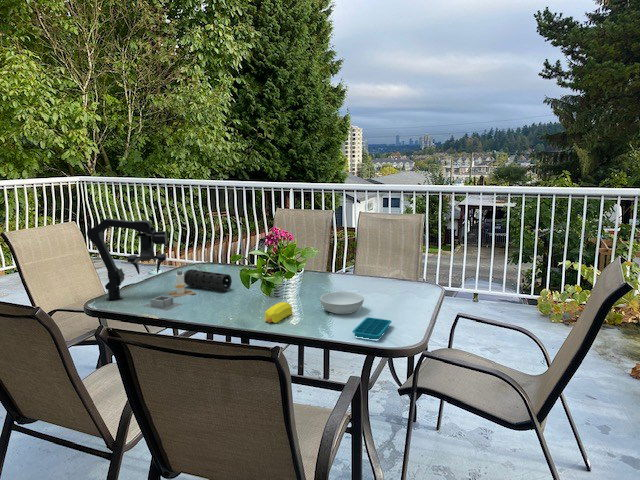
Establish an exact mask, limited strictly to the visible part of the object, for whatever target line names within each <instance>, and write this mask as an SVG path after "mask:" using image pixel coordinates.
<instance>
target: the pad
mask: <svg viewBox="0 0 640 480" xmlns="http://www.w3.org/2000/svg"><path fill="white" fill-rule="evenodd" d="M165 293H166V294H168V295H169V296H170V297H173V298H178V297H184V296H196V295H197V293H196V292H194V291H193V290H191V289H188V288H185V293H184V294H177V291H176V290H172V291H167V292H165Z"/></svg>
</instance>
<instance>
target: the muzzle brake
mask: <svg viewBox="0 0 640 480" xmlns="http://www.w3.org/2000/svg"><path fill="white" fill-rule="evenodd" d="M183 274H184V283H185V285H186V286H188V287H195V288H196V289H202V288H203V289H208V290H212V291H217V292H218V291H219V292H223V293H224V292H225V293H226V292H228V291H229V289H230V288H231V286H232V276H231V275H230V274H229V273H228V274H227V273H220V272H214V271H213V272H211V271H203V270H198V269H192V268H191V269H187V270H185V271H184V272H183Z"/></svg>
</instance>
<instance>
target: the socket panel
mask: <svg viewBox="0 0 640 480" xmlns="http://www.w3.org/2000/svg"><path fill="white" fill-rule="evenodd" d="M182 305H183V303H178V302H174V297H173V296H168V295H160V296H157V297H153V298H151V299H150V302H149V303H147V304H144V305H142V307H143V308H144V307H145V308H150V309H156V310H162V311H165V312H166V311H169V310H172V309H174V308H177V307H179V306H182Z"/></svg>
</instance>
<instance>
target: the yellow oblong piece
mask: <svg viewBox="0 0 640 480" xmlns="http://www.w3.org/2000/svg"><path fill="white" fill-rule="evenodd" d="M292 314H293V307H292V305H291V304H290V302H284V301H280V302H278V303H275V304H273V305H272V306H271V307H269V308H268V309H267V310H266V311H265V312H264V321H265V322H267V323H268V324H269V323H270V324H271V323H274V324H277V323H279V322H280V321H281V320H283V319H284V318H285V319H286V318H287V316H288V317H289V315H290V316H291V315H292Z"/></svg>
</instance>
